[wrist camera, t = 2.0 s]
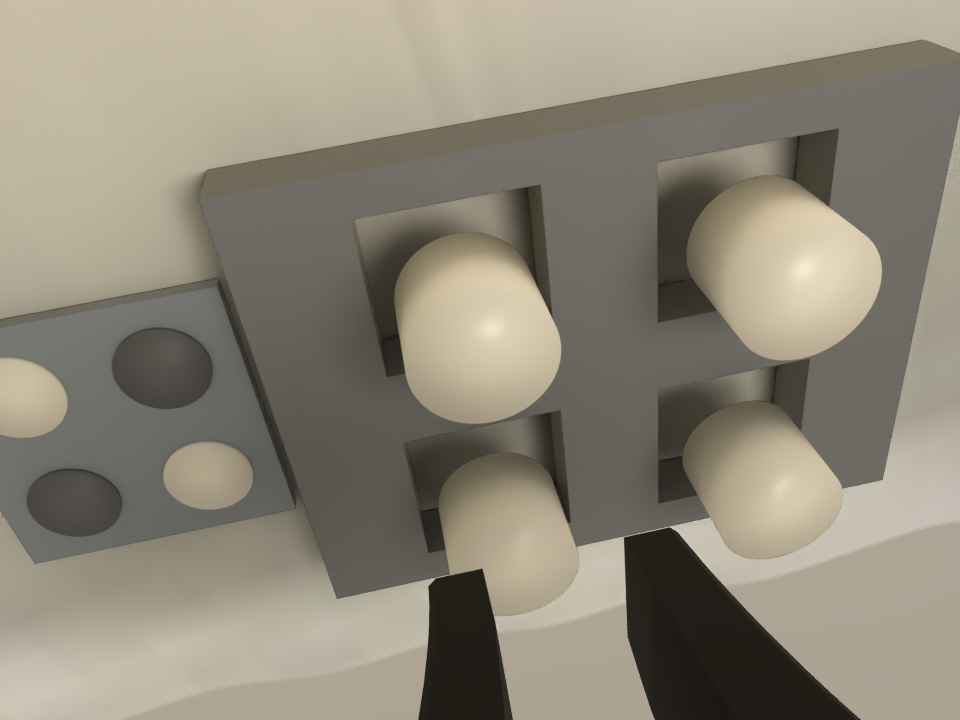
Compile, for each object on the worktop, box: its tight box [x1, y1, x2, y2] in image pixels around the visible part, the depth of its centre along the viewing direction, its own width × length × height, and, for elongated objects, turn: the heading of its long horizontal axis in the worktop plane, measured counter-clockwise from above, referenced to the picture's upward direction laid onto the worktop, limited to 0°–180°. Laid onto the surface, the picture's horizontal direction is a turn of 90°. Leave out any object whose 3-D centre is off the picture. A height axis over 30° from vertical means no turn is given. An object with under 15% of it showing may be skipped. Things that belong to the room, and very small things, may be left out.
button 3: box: [682, 400, 843, 559], centre depth 20 cm, size 3×3×2 cm
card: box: [0, 278, 296, 564], centre depth 20 cm, size 7×7×1 cm
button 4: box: [686, 175, 882, 361], centre depth 17 cm, size 3×3×2 cm
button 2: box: [394, 232, 561, 424], centre depth 17 cm, size 3×3×2 cm
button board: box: [199, 40, 960, 599], centre depth 21 cm, size 16×12×2 cm
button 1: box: [438, 452, 579, 616], centre depth 20 cm, size 3×3×2 cm
